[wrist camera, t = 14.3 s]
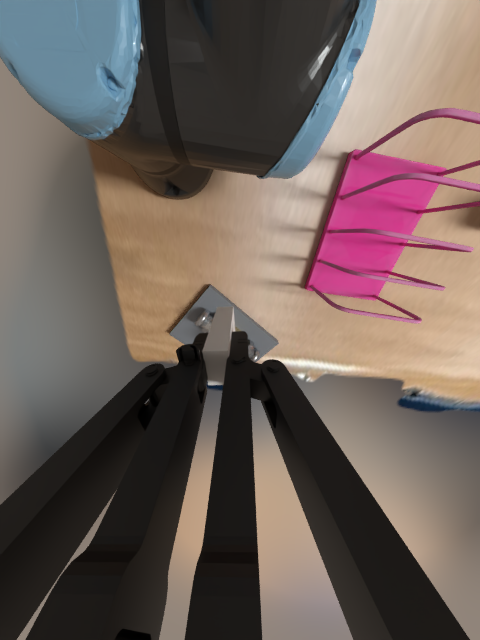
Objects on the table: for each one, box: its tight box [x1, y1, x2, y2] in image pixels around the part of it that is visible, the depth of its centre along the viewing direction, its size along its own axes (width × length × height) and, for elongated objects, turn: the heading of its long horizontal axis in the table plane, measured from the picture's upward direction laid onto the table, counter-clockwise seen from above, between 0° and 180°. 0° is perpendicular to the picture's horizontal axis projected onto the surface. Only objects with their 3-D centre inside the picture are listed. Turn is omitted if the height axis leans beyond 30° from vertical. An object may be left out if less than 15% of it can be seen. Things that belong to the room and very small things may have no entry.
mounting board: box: [170, 285, 279, 361], centre depth 47 cm, size 24×18×2 cm
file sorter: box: [305, 108, 480, 323], centre depth 30 cm, size 17×25×16 cm
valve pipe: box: [194, 309, 260, 362], centre depth 44 cm, size 18×6×6 cm, turn 48°
